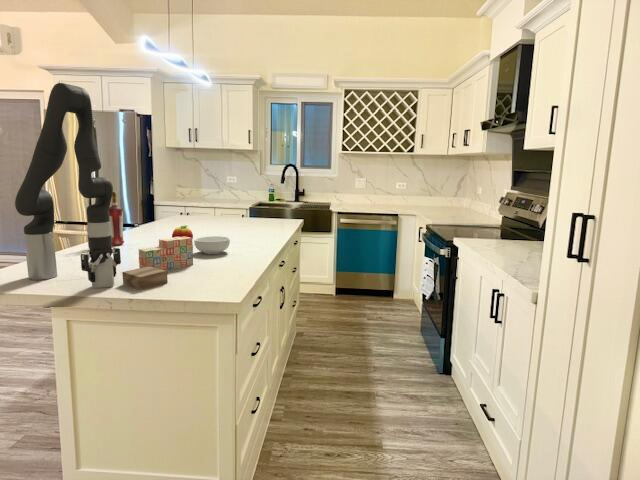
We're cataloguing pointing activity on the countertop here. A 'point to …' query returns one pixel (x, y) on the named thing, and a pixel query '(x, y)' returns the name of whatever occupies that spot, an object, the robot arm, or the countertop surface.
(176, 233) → the fruit
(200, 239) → the cereal bowl
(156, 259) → the stack of blocks
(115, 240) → the liquor
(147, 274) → the walnut block
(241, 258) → the countertop surface
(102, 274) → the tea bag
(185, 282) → the countertop surface
